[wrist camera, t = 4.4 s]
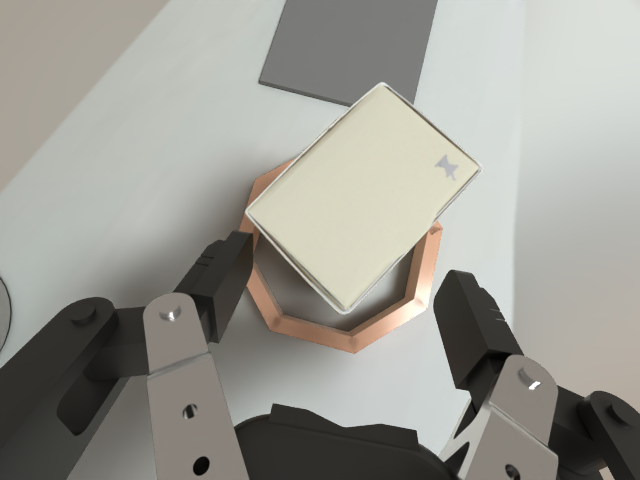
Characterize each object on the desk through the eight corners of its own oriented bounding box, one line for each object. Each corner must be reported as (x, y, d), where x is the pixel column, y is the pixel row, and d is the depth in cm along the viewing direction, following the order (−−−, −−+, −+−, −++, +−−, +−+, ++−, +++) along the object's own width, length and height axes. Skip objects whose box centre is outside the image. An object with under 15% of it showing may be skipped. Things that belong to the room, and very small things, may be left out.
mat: (260, 83, 22) (259, 80, 22) (307, -54, 24) (307, -59, 24) (408, 121, 22) (410, 118, 21) (441, -21, 24) (443, -26, 24)
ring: (221, 311, 19) (211, 314, 17) (275, 144, 21) (271, 129, 19) (404, 361, 19) (415, 370, 17) (439, 186, 21) (452, 176, 19)
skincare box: (345, 195, 21) (388, 67, 9) (388, 236, 20) (496, 160, 8) (282, 256, 20) (233, 208, 8) (326, 300, 19) (346, 321, 7)
